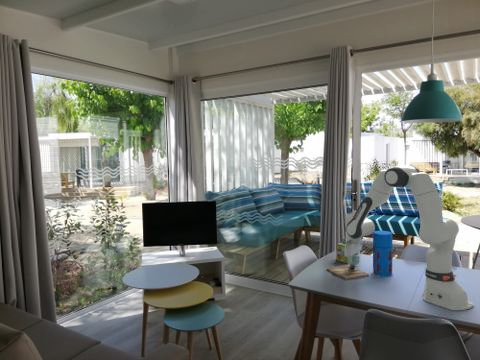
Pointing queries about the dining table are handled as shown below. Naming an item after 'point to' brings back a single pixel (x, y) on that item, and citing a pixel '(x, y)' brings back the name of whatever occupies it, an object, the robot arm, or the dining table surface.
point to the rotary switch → (353, 260)
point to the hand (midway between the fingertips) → (353, 260)
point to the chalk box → (341, 252)
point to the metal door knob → (352, 268)
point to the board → (347, 272)
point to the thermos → (382, 253)
